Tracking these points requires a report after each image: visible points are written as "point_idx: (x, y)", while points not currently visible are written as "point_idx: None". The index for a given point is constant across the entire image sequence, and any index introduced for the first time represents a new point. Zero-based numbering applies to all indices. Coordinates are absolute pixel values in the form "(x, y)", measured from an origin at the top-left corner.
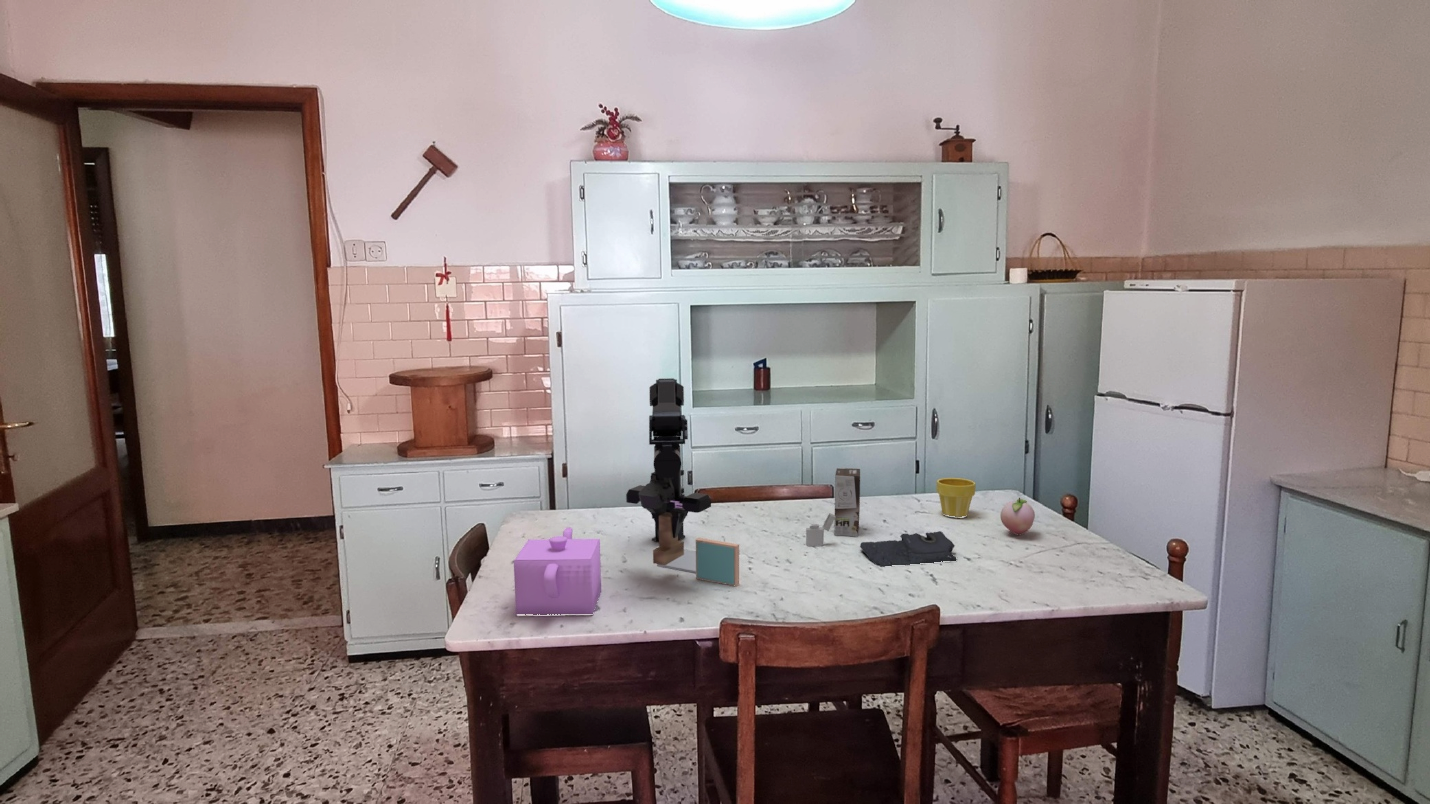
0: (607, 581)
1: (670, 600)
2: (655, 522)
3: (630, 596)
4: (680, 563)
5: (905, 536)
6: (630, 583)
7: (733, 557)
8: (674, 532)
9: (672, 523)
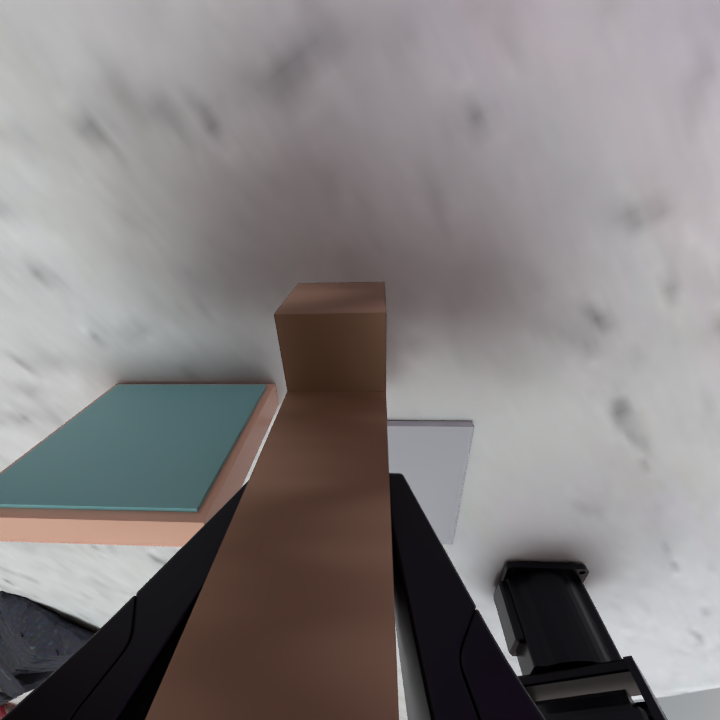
0: (626, 165)
1: (181, 103)
2: (464, 597)
3: (398, 16)
4: (395, 458)
5: (15, 685)
6: (491, 206)
7: (18, 461)
8: (229, 509)
9: (185, 614)
